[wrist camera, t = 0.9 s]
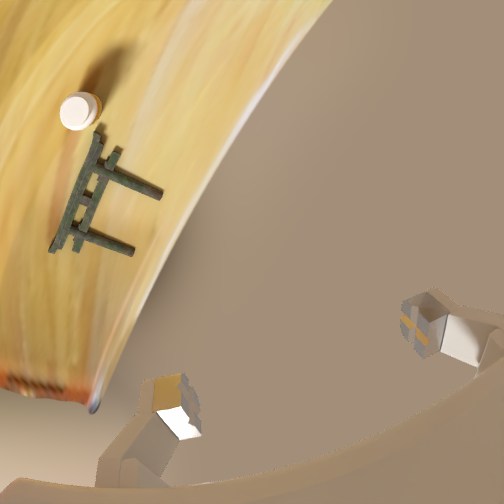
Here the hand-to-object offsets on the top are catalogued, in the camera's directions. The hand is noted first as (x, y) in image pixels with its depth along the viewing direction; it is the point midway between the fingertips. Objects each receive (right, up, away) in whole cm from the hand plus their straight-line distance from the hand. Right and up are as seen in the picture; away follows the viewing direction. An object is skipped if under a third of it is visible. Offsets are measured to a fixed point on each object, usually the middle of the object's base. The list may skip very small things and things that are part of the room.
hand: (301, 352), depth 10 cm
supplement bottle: (-27, +25, +27) cm, 45 cm away
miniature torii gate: (-26, +11, +36) cm, 46 cm away
